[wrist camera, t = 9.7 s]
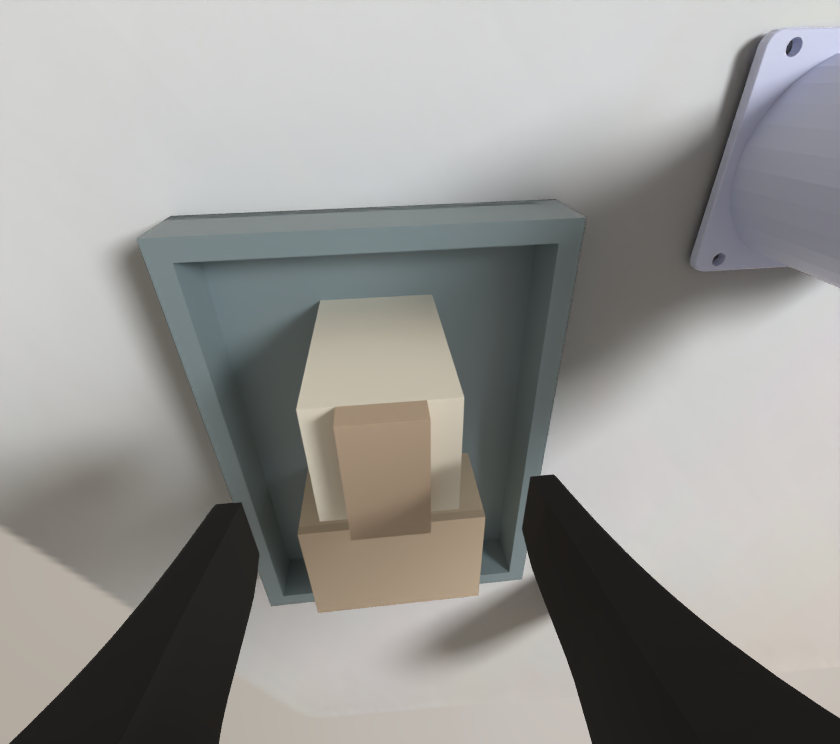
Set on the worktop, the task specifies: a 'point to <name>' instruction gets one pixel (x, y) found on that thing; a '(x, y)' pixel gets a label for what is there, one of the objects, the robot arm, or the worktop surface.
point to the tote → (368, 278)
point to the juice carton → (381, 415)
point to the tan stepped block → (395, 556)
